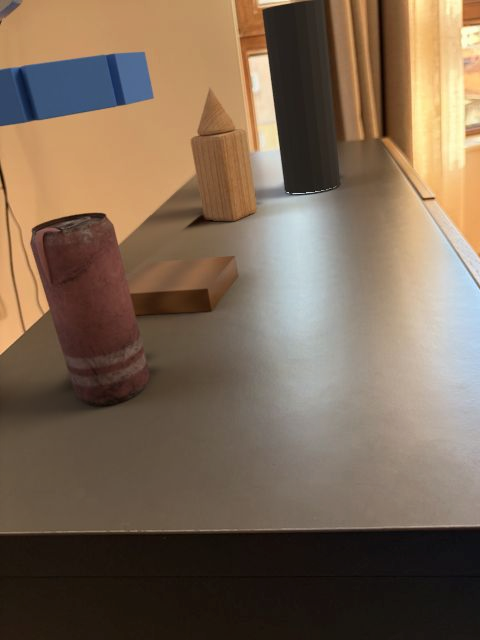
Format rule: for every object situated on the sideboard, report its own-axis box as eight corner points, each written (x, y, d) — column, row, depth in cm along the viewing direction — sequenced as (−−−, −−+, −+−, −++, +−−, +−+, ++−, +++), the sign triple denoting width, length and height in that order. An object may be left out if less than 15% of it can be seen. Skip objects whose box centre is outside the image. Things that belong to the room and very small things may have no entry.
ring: (-107, 142, 40) (-126, 91, 39) (15, 117, 52) (4, 78, 51) (94, 112, 37) (81, 55, 35) (175, 93, 49) (167, 50, 48)
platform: (114, 316, 69) (109, 294, 68) (152, 281, 78) (148, 262, 77) (211, 311, 66) (207, 288, 65) (238, 276, 75) (235, 255, 74)
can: (59, 406, 51) (5, 234, 45) (104, 370, 56) (61, 212, 50) (123, 412, 48) (74, 231, 43) (164, 373, 54) (126, 207, 48)
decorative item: (203, 221, 105) (179, 91, 97) (228, 211, 110) (208, 86, 101) (234, 222, 101) (212, 87, 93) (259, 211, 106) (240, 81, 98)
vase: (342, 179, 121) (326, 1, 109) (338, 191, 112) (320, -3, 100) (288, 185, 123) (267, 11, 111) (280, 197, 114) (256, 9, 102)
